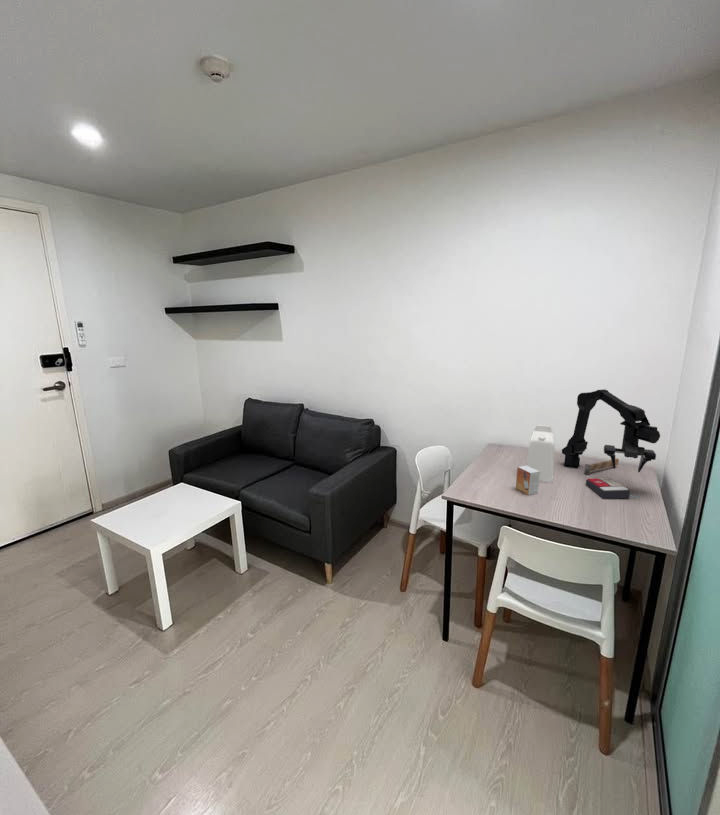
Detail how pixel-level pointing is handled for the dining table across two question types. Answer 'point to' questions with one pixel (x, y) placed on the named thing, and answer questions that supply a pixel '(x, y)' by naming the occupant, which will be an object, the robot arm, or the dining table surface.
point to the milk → (542, 452)
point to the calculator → (608, 488)
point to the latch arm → (599, 466)
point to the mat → (634, 496)
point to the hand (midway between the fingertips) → (626, 470)
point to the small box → (527, 480)
